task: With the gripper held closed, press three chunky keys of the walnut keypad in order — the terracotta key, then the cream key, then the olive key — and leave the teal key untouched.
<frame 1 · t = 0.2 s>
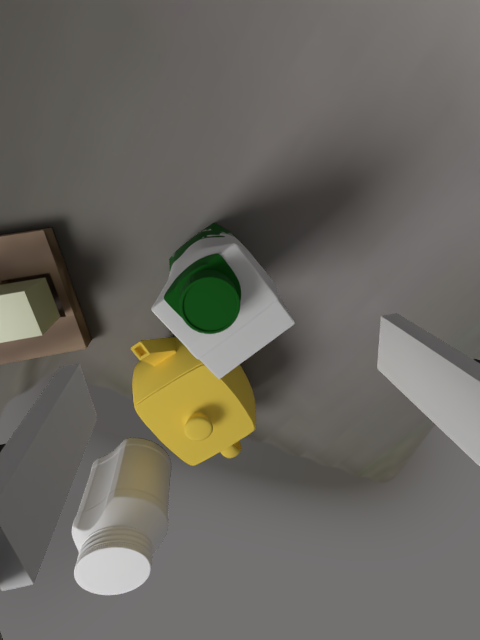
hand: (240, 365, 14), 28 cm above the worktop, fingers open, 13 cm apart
teapot: (191, 367, 46), on the worktop
milk carton: (210, 263, 41), on the worktop
jar: (133, 466, 51), on the worktop
key olive: (20, 309, 33), point 6 cm above the worktop, slide at 0.0 cm
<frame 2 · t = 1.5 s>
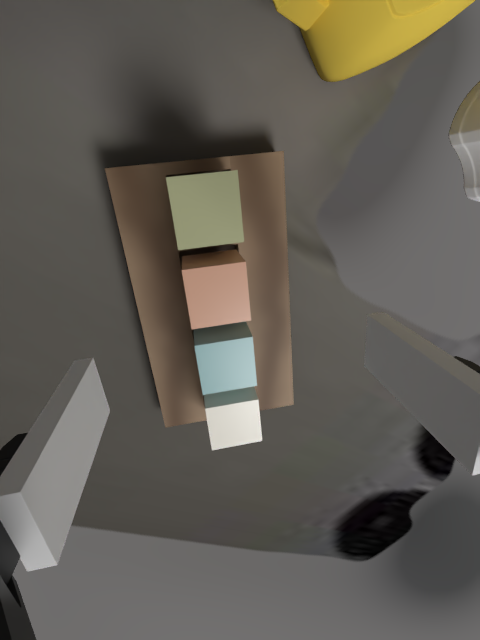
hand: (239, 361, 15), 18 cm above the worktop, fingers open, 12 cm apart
key teal: (223, 352, 29), point 6 cm above the worktop, slide at 0.0 cm
key terracotta: (215, 286, 26), point 6 cm above the worktop, slide at 0.0 cm
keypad: (214, 299, 33), on the worktop
key cream: (231, 407, 31), point 6 cm above the worktop, slide at 0.0 cm
key olive: (205, 208, 24), point 6 cm above the worktop, slide at 0.0 cm
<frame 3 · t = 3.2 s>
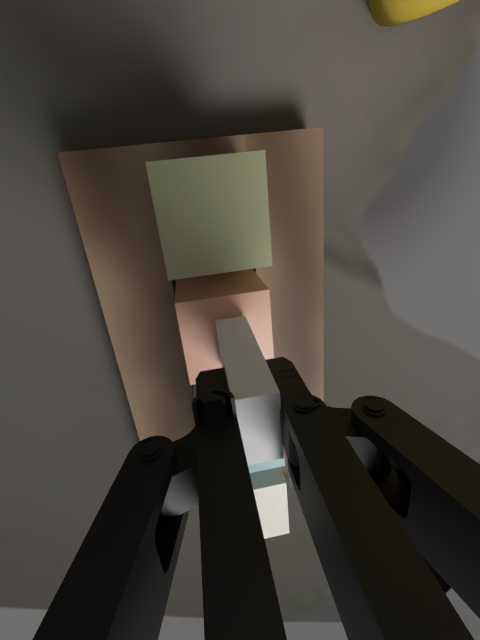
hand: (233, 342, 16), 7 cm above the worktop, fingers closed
key teal: (236, 414, 20), point 6 cm above the worktop, slide at 0.0 cm
key terracotta: (222, 320, 19), point 5 cm above the worktop, slide at 1.0 cm, touching gripper
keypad: (220, 333, 24), on the worktop
key cream: (245, 483, 23), point 6 cm above the worktop, slide at 0.0 cm
key olive: (209, 213, 16), point 6 cm above the worktop, slide at 0.0 cm
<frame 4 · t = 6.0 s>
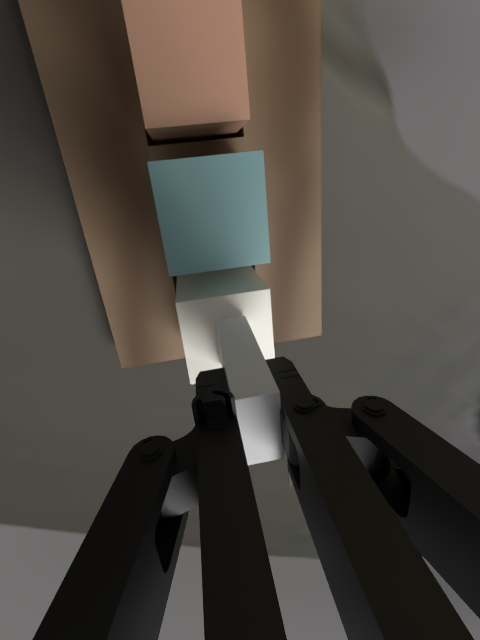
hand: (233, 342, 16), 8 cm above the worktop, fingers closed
key teal: (209, 211, 16), point 6 cm above the worktop, slide at 0.0 cm
key terracotta: (189, 77, 16), point 4 cm above the worktop, slide at 2.1 cm
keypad: (196, 153, 20), on the worktop
key cream: (223, 319, 19), point 5 cm above the worktop, slide at 0.5 cm, touching gripper
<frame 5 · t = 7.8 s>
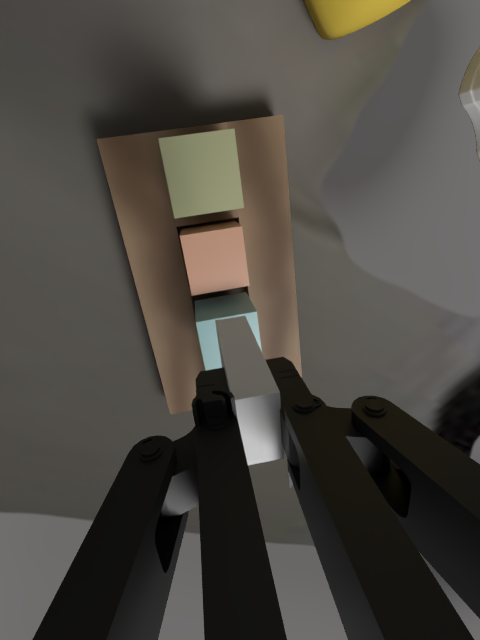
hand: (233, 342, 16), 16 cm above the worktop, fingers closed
key teal: (227, 331, 28), point 6 cm above the worktop, slide at 0.0 cm
key terracotta: (213, 255, 27), point 4 cm above the worktop, slide at 2.1 cm
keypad: (216, 279, 32), on the worktop
key olive: (201, 176, 23), point 6 cm above the worktop, slide at 0.0 cm
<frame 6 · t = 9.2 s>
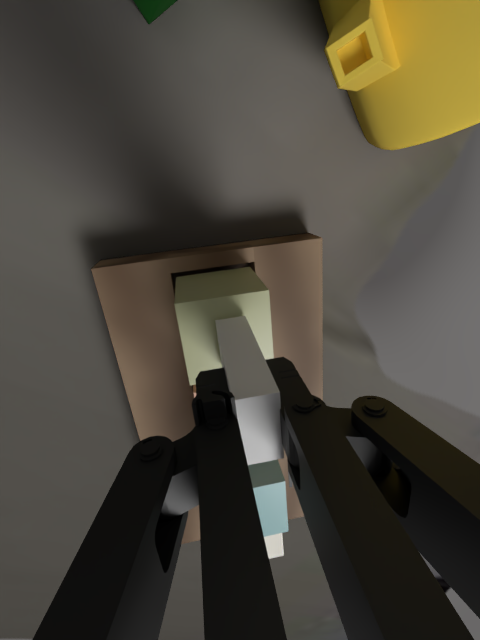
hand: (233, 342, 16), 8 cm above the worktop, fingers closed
key teal: (244, 482, 23), point 6 cm above the worktop, slide at 0.0 cm
key terracotta: (231, 393, 23), point 4 cm above the worktop, slide at 2.1 cm
teapot: (417, 17, 19), on the worktop
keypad: (229, 398, 27), on the worktop
key cream: (247, 513, 27), point 4 cm above the worktop, slide at 2.1 cm
key olive: (222, 321, 19), point 5 cm above the worktop, slide at 0.8 cm, touching gripper
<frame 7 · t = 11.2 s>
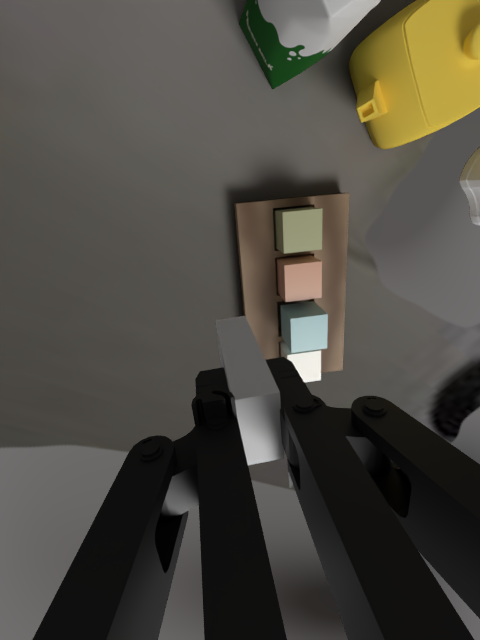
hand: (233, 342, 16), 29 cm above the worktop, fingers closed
key teal: (303, 326, 42), point 6 cm above the worktop, slide at 0.0 cm
key terracotta: (297, 277, 42), point 4 cm above the worktop, slide at 2.1 cm
teapot: (399, 84, 39), on the worktop
milk carton: (283, 37, 36), on the worktop
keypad: (290, 291, 47), on the worktop
key cream: (299, 359, 47), point 4 cm above the worktop, slide at 2.1 cm
key olive: (296, 229, 40), point 4 cm above the worktop, slide at 2.1 cm
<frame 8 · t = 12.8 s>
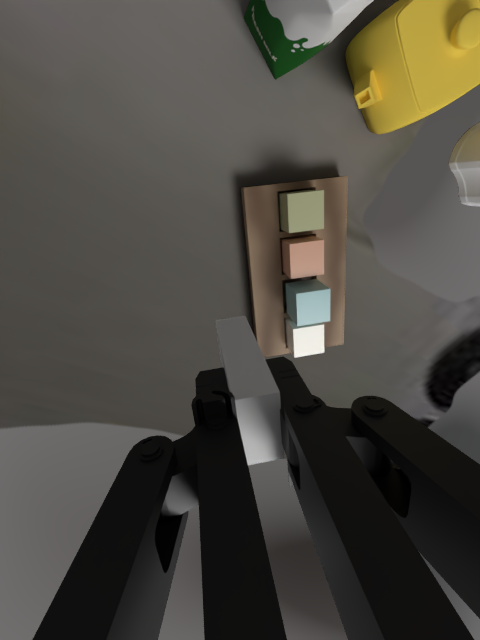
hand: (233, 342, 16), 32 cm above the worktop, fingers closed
key teal: (307, 301, 46), point 6 cm above the worktop, slide at 0.0 cm
key terracotta: (301, 256, 45), point 4 cm above the worktop, slide at 2.1 cm
teapot: (392, 73, 42), on the worktop
milk carton: (284, 30, 39), on the worktop
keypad: (294, 271, 50), on the worktop
key cream: (303, 334, 50), point 4 cm above the worktop, slide at 2.1 cm
key olive: (299, 210, 43), point 4 cm above the worktop, slide at 2.1 cm
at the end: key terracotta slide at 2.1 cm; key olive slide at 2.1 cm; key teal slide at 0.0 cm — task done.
